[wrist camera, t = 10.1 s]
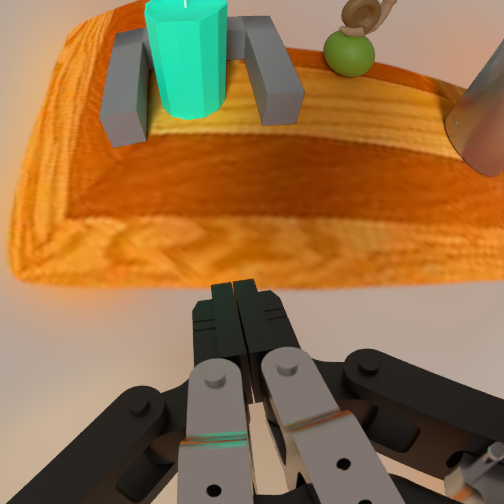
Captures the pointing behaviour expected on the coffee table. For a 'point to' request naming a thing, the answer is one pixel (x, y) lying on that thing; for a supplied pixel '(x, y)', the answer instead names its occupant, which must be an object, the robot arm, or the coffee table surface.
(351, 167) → the coffee table surface
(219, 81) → the candle
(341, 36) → the snail figurine
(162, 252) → the coffee table surface
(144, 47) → the grey u-shaped frame
